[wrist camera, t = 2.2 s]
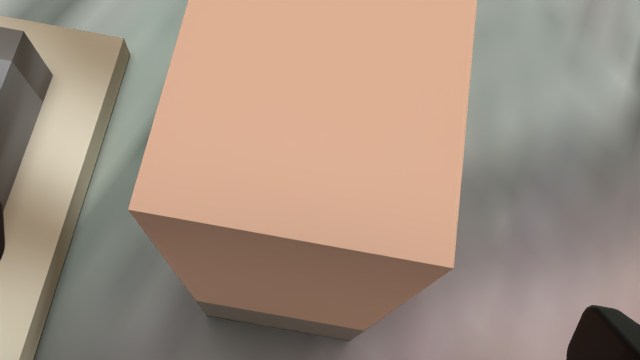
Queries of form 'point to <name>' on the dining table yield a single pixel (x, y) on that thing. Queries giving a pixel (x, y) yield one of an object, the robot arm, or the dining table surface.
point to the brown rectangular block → (310, 157)
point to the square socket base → (47, 159)
